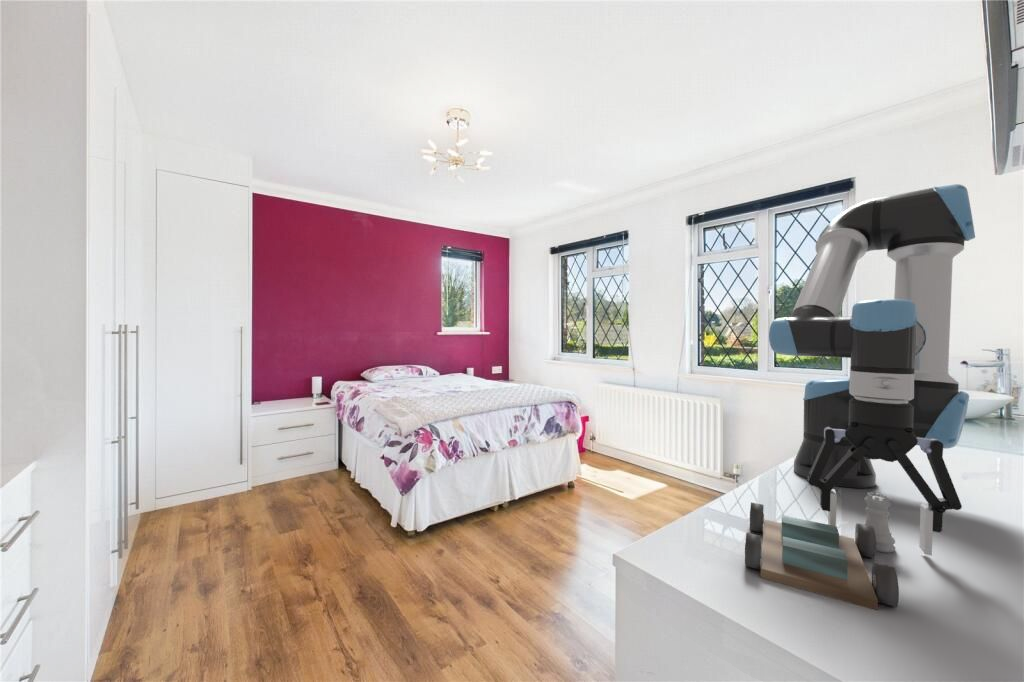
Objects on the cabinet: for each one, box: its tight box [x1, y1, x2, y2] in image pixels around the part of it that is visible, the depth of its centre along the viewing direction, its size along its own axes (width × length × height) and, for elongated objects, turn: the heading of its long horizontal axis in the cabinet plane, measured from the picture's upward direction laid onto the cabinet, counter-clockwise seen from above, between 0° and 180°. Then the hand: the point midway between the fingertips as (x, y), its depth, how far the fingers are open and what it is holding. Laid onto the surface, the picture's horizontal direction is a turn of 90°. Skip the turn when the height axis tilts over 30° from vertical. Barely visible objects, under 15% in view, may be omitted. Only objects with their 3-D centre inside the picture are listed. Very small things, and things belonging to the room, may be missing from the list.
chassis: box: [744, 502, 900, 611], centre depth 60 cm, size 18×16×4 cm
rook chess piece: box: [863, 492, 897, 554], centre depth 65 cm, size 4×4×8 cm
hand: (876, 540), depth 65 cm, fingers open, 10 cm apart
